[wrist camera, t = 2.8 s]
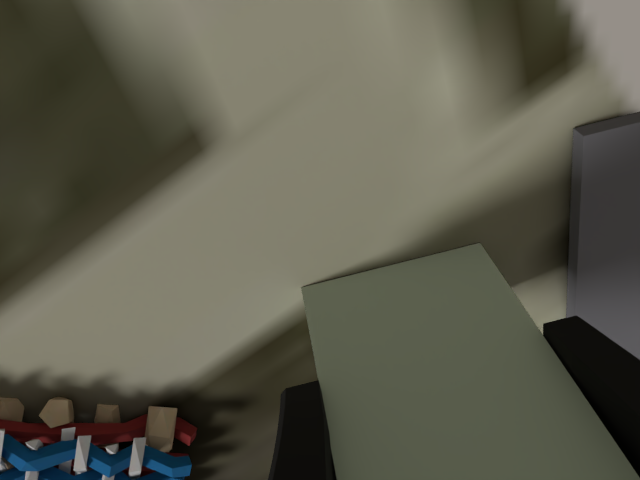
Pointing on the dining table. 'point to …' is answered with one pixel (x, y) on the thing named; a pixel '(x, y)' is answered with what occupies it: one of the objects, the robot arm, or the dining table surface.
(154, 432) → the woven mat
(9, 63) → the dining table surface
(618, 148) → the domino mat
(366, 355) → the sage domino
